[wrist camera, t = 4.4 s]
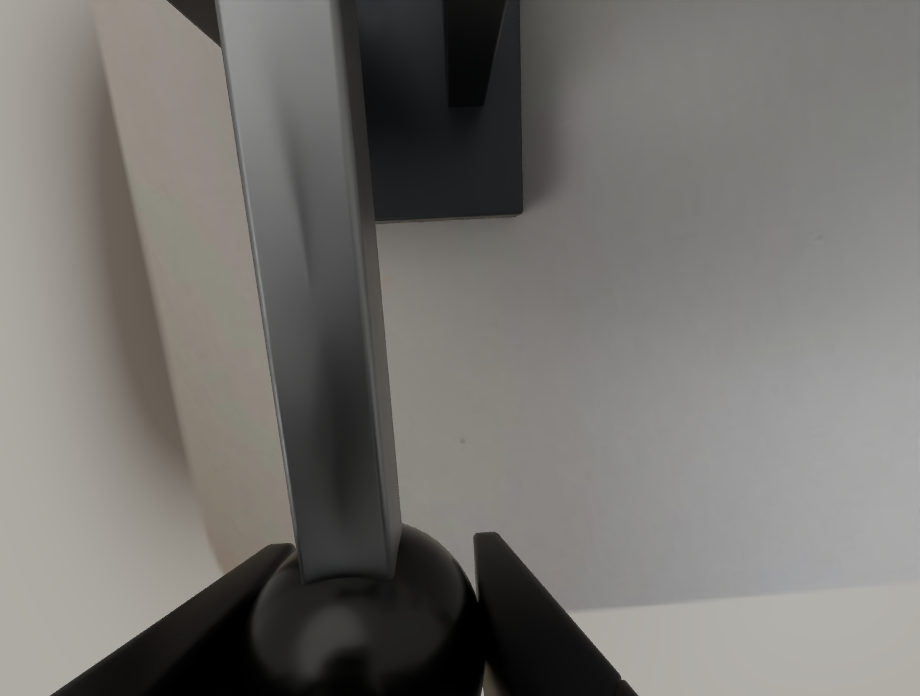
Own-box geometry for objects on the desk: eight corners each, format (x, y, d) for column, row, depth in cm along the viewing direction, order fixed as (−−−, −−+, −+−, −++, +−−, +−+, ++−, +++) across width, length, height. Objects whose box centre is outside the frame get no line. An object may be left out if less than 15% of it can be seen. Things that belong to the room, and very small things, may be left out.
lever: (481, 635, 8) (502, 898, 5) (302, 646, 8) (199, 917, 5) (432, -436, 5) (393, -1813, 2) (135, -424, 5) (-508, -1808, 2)
